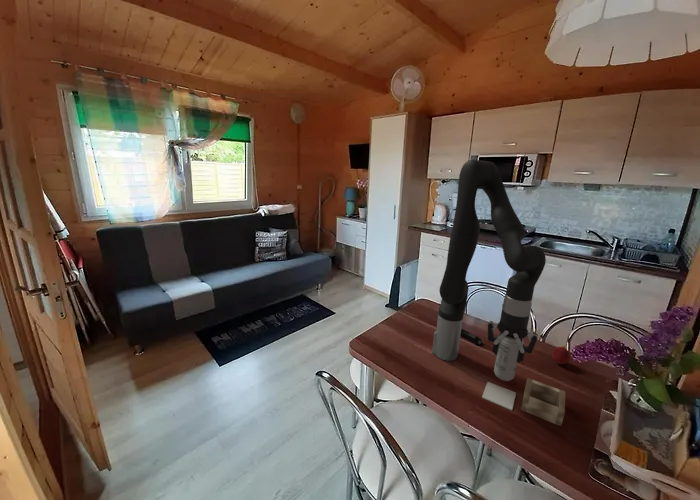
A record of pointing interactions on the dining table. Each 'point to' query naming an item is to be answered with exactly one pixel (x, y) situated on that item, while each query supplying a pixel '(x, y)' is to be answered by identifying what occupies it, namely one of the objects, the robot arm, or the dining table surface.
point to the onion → (561, 355)
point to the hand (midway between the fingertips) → (507, 357)
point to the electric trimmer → (471, 337)
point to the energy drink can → (506, 358)
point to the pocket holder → (541, 407)
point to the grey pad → (499, 395)
